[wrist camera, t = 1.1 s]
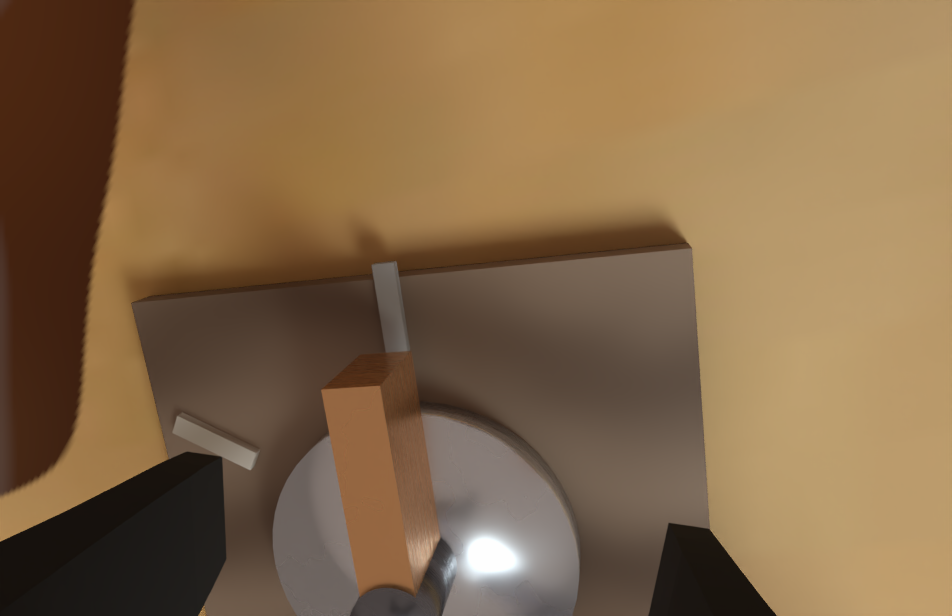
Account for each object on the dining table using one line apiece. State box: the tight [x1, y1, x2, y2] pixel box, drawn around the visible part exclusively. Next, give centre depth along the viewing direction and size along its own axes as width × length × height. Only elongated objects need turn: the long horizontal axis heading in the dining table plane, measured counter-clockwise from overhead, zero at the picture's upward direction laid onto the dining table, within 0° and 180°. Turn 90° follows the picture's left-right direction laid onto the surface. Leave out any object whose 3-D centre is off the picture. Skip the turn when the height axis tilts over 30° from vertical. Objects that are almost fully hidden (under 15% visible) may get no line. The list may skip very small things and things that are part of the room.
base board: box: [131, 243, 710, 616], centre depth 24 cm, size 18×18×1 cm
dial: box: [273, 351, 581, 616], centre depth 21 cm, size 12×10×4 cm
